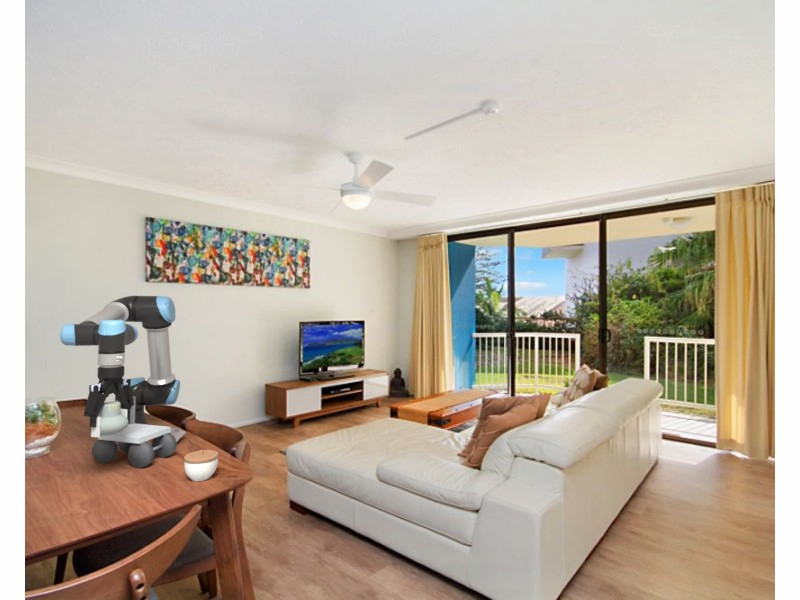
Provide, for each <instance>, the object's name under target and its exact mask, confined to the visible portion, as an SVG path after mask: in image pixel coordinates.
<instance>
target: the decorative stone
mask: <svg viewBox="0 0 800 600" xmlns="http://www.w3.org/2000/svg"><path fill="white" fill-rule="evenodd" d="M169 433H170V434H172V435H173V436H174V438H175V440H176V443H178V441H180V439H181V438H182V437H183V436H184V435H185V434H187V431H185V430H183V429H179V428H174V427H171V432H169ZM153 439H154V438H153ZM153 439H152V440H153Z"/></svg>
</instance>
